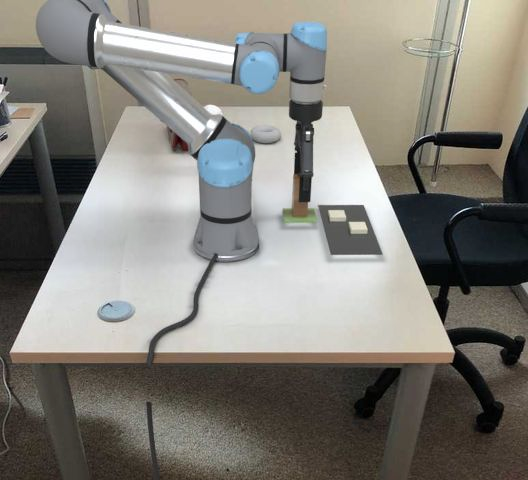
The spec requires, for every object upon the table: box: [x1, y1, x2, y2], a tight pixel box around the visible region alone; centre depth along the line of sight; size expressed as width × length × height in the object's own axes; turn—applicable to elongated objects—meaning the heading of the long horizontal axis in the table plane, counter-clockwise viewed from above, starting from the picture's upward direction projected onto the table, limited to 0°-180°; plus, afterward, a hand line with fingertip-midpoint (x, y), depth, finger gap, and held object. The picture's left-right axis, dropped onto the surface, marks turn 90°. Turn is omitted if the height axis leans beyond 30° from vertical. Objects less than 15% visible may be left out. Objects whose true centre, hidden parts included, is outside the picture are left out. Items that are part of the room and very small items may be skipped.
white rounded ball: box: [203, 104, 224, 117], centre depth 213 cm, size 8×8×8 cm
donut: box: [249, 124, 282, 144], centre depth 208 cm, size 10×4×10 cm
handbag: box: [166, 78, 193, 151], centre depth 202 cm, size 28×11×17 cm, turn 11°
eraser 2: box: [348, 222, 368, 234], centre depth 156 cm, size 4×4×1 cm
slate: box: [317, 204, 384, 256], centre depth 158 cm, size 26×12×2 cm, turn 3°
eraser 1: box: [328, 210, 346, 221], centre depth 161 cm, size 4×4×1 cm
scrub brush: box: [281, 173, 318, 224], centre depth 159 cm, size 6×8×12 cm
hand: (301, 189), depth 157 cm, fingers open, 13 cm apart
